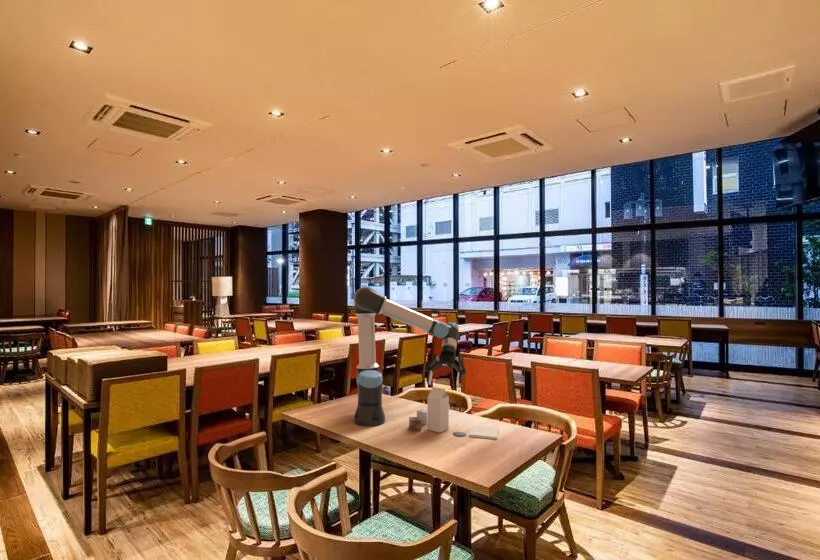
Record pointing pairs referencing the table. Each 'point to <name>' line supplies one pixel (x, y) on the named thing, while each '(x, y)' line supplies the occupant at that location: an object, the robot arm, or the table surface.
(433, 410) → the milk carton
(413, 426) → the walnut block
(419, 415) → the white small cylinder
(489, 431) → the plate
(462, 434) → the slate coaster
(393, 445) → the table surface
